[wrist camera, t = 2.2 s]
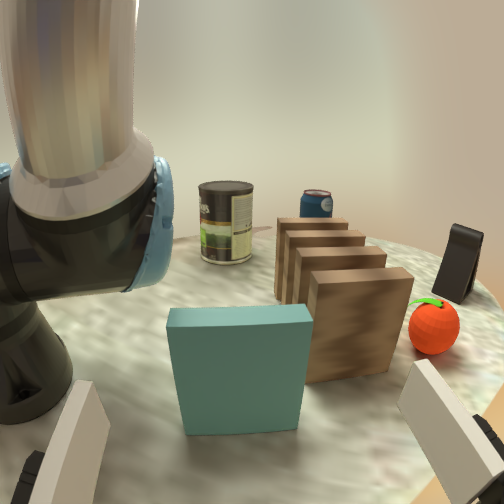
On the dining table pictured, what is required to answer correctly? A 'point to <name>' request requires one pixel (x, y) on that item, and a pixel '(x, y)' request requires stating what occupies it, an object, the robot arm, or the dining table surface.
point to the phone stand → (459, 264)
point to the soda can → (316, 204)
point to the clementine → (433, 326)
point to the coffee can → (226, 221)
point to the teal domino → (239, 367)
